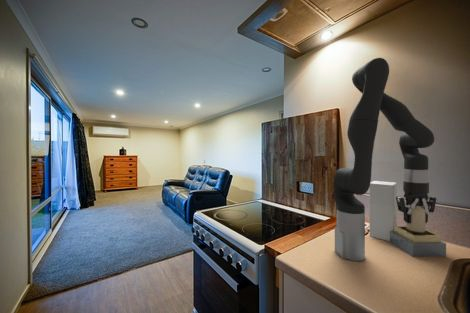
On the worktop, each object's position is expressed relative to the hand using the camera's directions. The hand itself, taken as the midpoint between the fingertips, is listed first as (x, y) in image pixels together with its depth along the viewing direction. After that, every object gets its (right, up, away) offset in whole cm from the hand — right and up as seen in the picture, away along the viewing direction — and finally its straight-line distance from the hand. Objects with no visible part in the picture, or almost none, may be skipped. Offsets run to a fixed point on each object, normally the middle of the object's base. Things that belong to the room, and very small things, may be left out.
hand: (415, 222), depth 76 cm
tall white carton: (-4, -11, +12) cm, 17 cm away
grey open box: (0, -11, 0) cm, 11 cm away
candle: (0, -3, 0) cm, 3 cm away
